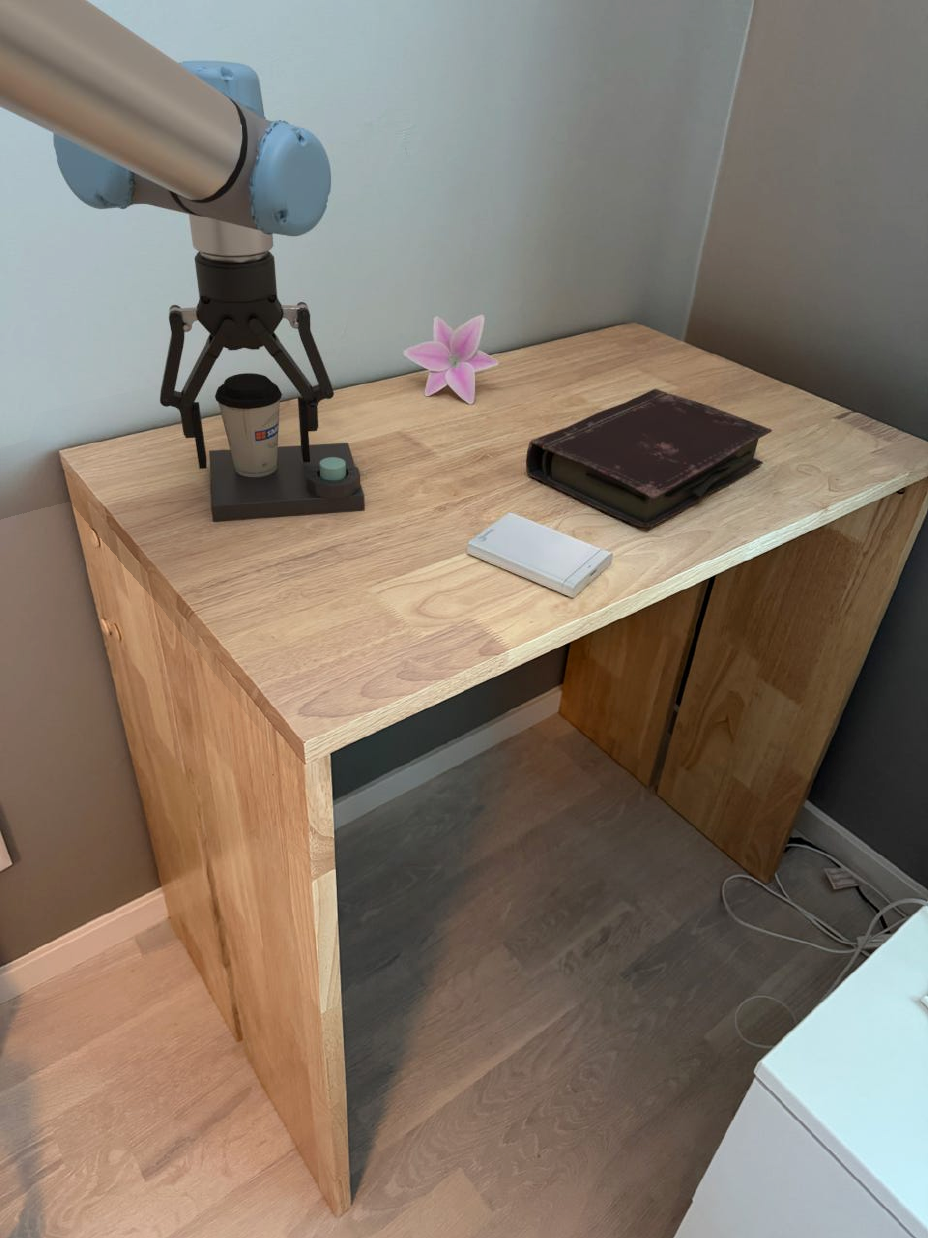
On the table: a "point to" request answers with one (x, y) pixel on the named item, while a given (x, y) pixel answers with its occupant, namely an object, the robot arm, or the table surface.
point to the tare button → (332, 468)
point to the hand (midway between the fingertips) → (254, 459)
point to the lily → (453, 357)
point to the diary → (647, 456)
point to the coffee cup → (251, 422)
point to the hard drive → (540, 554)
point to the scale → (284, 486)
